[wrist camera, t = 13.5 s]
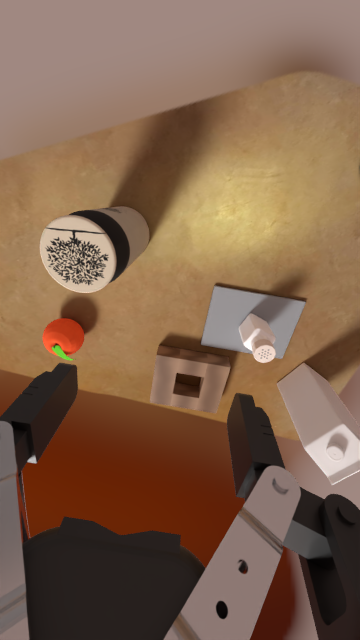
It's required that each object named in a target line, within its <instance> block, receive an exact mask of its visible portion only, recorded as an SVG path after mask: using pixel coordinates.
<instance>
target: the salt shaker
mask: <svg viewBox="0 0 360 640" xmlns="http://www.w3.org/2000/svg"><path fill="white" fill-rule="evenodd" d="M239 332H240V335H241V339H242V342H243V344H244V346H245V347H246V348H248V349H249V350H251V351H252V352H253V355H254V358H255V359H256V360H257V361H259V362H262V363H265V362H269V361H271V360H272V359H274V357H275V355H276V351H275V348H274V346H273V343H274V342H275V339H276V338H275V336H274V334H273V332H272V330H271V329H270V327H269V325H268V323H267V322H266V321H265V320H263V319H261V318H259V317H258V316H256V315H254V314H251V313H250V314H249V315H248V316H247V318H246V319H245V320H244V321H243V323H242V324H241V325H240V326H239Z"/></svg>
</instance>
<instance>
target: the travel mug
mask: <svg viewBox="0 0 360 640" xmlns="http://www.w3.org/2000/svg"><path fill="white" fill-rule="evenodd" d="M148 242H149V228H148V225H147V223H146V221H145V219H144V218H143V216H142V215H141V214H140V213H139V212H137V211H136V210H134V209H132V208H129V207H125V206H120V207H111V208H102V209H93V210H84V211H77V212H74V213H71V214H69V215H66V216H61V217H59V218H56V219H55V220H53V221H52V222H50V223H49V224H48V225H47V227H46V228H45V229H44V231H43V233H42V236H41V240H40V254H41V258H42V261H43V264H44V266H45V268H46V269H47V271H48V272H49V274H50V275H51V276H52V277H53V278H54V279H55V280H56V281H57V282H58V283H59V284H61V285H62V286H64V287H65V288H67V289H69V290H72V291H75V292H80V293H90V292H95V291H98V290H100V289H102V288H103V287H105V286H106V285H107V284H108V283H110V282H112V281H114V280H115V279H116V278H117V277H119V276H120V275H121V274H122V273H123V272H124V271H125V270H126V269H127V268H128V267H129V266H130V265H131V264H132V262H133V261H134V260H135V259H136V258H137V257H138V256H139V255H140V254H141V253H142V252H143V251H144V250H145V249H146V247H147V245H148Z"/></svg>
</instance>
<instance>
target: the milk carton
mask: <svg viewBox="0 0 360 640" xmlns="http://www.w3.org/2000/svg"><path fill="white" fill-rule="evenodd" d="M277 386H278V388H279V391H280V393H281V395H282V398H283V400H284V402H285V405H286V407H287V409H288V412H289V414H290V416H291V419H292V421H293V423H294V426H295V428H296V430H297V433H298V435H299V437H300V440H301V442H302V444H303V446H304V449H305V450H306V451H307V453H308V454H309V455H310V456H311V458H312V459H313V460H314V461H315V462H316V464H317V465H318V466H319V467H320V468H321V470H322V471H323V472H324V473H325V475H326V476H327V477H328V479H329V481H330V483H331V485H333V484H335V483H337V482H339V481H341V480H343V479H345V478H347V477H349V476H351V475H353V474H355V473H357V472H358V471H360V426H359V425H358V423H357V422H356V420H355V419H354V417H353V416H352V415H351V413H350V412H349V410H348V409H347V408H346V406H345V405H344V403H343V402H342V401H341V399H340V398H339V396H338V395H337V394H336V392H335V391H334V389H333V388H332V387H331V385H330V384H329V382H328V381H327V380H326V379H324V378H323V377H322V376H321V375H319V374H318V373H317V372H315V371H314V370H313V369H312V368H310V367H309V366H308V365H306V364H305V363H302V364H301V365H300V366H298V367H297V368H296V369H294V370H293V371H292V372H291V373H289V374H288V375H287V376H286V377H284V378H283V379H282V380H280V381H279V382H278V383H277Z"/></svg>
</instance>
